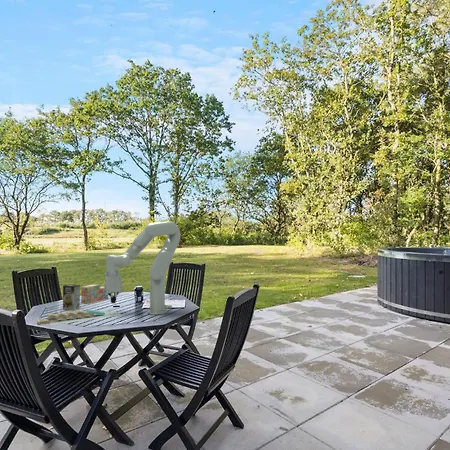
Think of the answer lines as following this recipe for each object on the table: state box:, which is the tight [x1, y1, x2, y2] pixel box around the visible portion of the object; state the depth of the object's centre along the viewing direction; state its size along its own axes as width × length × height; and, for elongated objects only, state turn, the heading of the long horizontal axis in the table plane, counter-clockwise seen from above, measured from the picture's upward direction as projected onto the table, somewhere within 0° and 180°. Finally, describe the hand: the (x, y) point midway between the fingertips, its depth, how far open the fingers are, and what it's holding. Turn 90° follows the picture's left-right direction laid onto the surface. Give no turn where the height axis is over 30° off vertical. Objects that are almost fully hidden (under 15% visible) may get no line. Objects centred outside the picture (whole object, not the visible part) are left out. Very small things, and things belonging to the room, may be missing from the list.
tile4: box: [56, 311, 76, 320], centre depth 214 cm, size 2×5×10 cm
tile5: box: [46, 312, 67, 321], centre depth 211 cm, size 2×5×10 cm
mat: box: [49, 310, 121, 326], centre depth 220 cm, size 40×14×1 cm, turn 124°
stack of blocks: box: [80, 283, 109, 305], centre depth 270 cm, size 21×6×12 cm, turn 157°
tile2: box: [74, 309, 94, 317], centre depth 220 cm, size 2×5×10 cm
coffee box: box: [62, 284, 81, 311], centre depth 243 cm, size 9×6×16 cm
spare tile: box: [85, 308, 105, 316], centre depth 223 cm, size 2×5×10 cm
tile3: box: [65, 310, 85, 318], centre depth 217 cm, size 2×5×10 cm
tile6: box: [36, 317, 58, 326], centre depth 208 cm, size 2×5×10 cm
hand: (113, 303), depth 229 cm, fingers closed
